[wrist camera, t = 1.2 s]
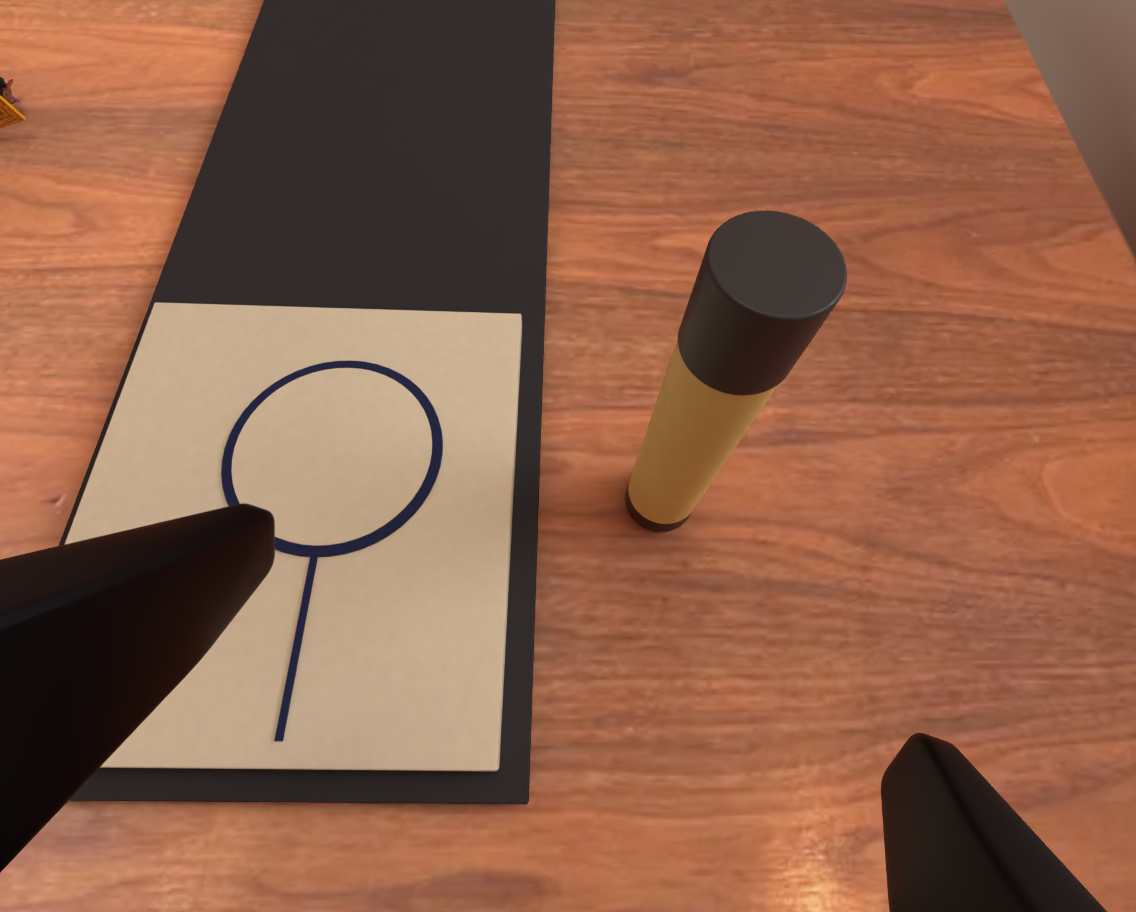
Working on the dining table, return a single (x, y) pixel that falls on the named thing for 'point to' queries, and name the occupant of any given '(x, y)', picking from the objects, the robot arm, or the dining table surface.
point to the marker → (732, 354)
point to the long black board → (353, 410)
